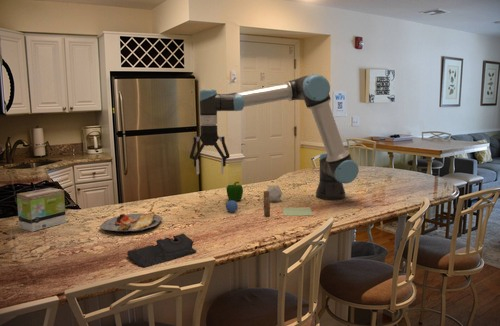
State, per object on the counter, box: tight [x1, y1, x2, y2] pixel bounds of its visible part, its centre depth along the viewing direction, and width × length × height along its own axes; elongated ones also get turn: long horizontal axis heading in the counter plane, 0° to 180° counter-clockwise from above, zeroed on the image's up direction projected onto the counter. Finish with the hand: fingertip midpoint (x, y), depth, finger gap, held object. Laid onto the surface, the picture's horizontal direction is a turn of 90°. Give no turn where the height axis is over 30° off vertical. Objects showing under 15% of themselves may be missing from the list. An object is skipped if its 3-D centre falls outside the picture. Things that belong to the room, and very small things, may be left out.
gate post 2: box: [263, 197, 271, 218], centre depth 178 cm, size 3×3×8 cm
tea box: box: [16, 187, 67, 233], centre depth 168 cm, size 15×10×15 cm, turn 148°
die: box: [266, 184, 283, 203], centre depth 204 cm, size 8×9×10 cm
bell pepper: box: [225, 181, 244, 202], centre depth 205 cm, size 8×8×10 cm
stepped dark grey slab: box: [126, 233, 197, 269], centre depth 136 cm, size 15×22×5 cm
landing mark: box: [281, 206, 314, 217], centre depth 184 cm, size 13×13×1 cm
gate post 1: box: [263, 190, 269, 199], centre depth 190 cm, size 3×3×8 cm
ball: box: [225, 200, 239, 213], centre depth 184 cm, size 6×6×6 cm
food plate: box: [99, 211, 163, 233], centre depth 167 cm, size 25×23×4 cm
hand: (210, 173), depth 182 cm, fingers open, 10 cm apart
